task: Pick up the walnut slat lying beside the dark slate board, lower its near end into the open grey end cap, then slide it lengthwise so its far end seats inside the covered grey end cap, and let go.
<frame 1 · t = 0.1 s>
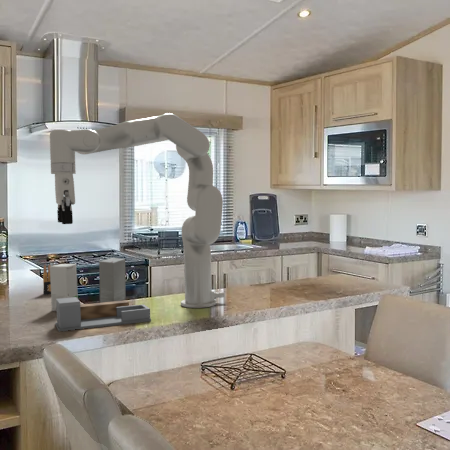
hand: (65, 223, 179), 31 cm above the table, tool pointing down, fingers open, 9 cm apart
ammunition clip: (57, 293, 225), on the table
endcap board: (103, 323, 175), on the table
slat: (99, 319, 181), on the table
skincare box: (113, 302, 207), on the table
skincare box 2: (64, 309, 196), on the table
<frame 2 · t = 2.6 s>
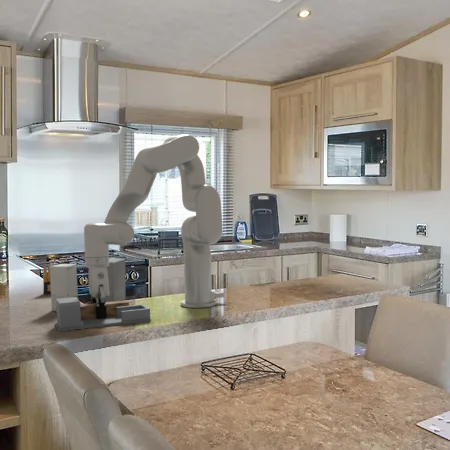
hand: (98, 315, 181), 1 cm above the table, tool pointing down, fingers open, 7 cm apart
nothing on the table moved.
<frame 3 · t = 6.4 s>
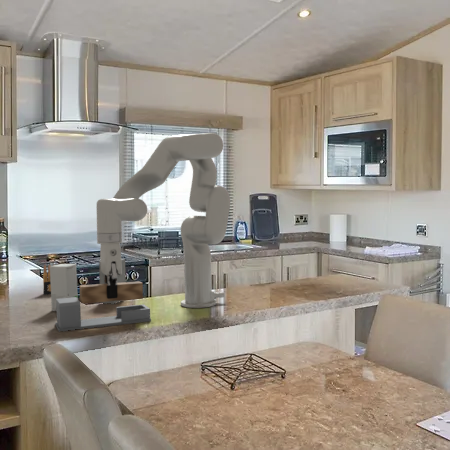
hand: (110, 296, 175), 8 cm above the table, tool pointing down, fingers closed on slat, 3 cm apart
slat: (111, 300, 175), point 7 cm above the table, touching gripper
everything else where it was.
when the fingers open (1 cm above the table, at t = 9.0 s): slat stays where it is, resting on endcap board.
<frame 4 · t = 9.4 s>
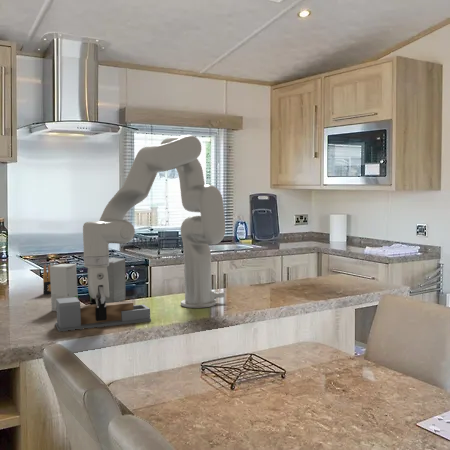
hand: (98, 317, 174), 2 cm above the table, tool pointing down, fingers open, 8 cm apart
slat: (102, 320, 174), point 1 cm above the table, touching endcap board
everything else where it was.
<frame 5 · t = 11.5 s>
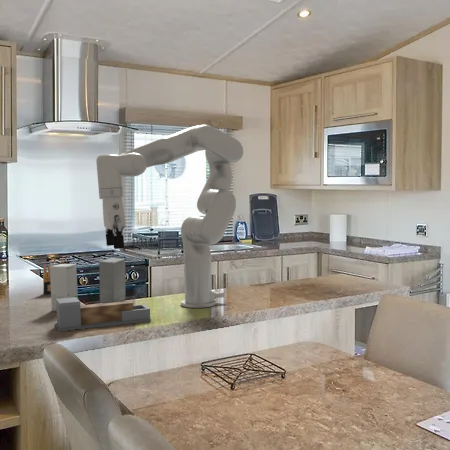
hand: (115, 246, 180), 23 cm above the table, tool pointing down, fingers open, 9 cm apart
nothing on the table moved.
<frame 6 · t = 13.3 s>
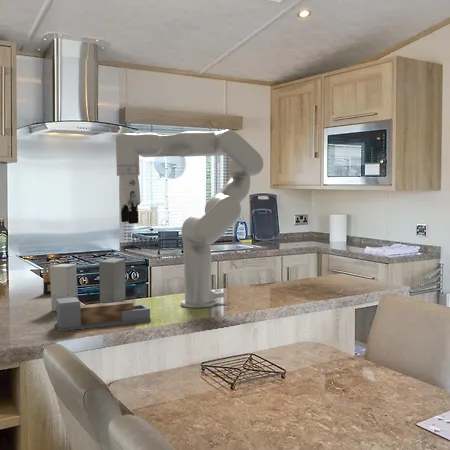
hand: (129, 222, 187), 30 cm above the table, tool pointing down, fingers open, 9 cm apart
nothing on the table moved.
at the end: slat 1.1 cm from the target spot on the endcap board, point 0.8 cm above the endcap board's base; slat tilted 0°; the gripper is holding nothing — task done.
